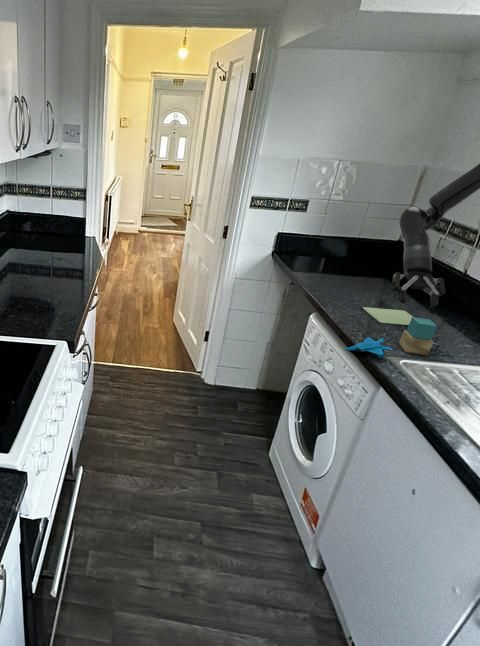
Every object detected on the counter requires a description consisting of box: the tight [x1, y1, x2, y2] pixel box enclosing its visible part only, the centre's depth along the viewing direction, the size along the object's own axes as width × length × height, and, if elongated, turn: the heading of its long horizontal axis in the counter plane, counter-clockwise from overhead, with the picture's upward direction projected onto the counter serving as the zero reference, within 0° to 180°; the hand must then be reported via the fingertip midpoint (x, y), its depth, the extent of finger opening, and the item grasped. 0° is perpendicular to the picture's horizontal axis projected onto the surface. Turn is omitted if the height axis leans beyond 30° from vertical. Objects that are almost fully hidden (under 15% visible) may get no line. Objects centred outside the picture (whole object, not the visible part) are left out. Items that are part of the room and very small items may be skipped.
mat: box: [361, 306, 414, 326], centre depth 156 cm, size 16×14×1 cm
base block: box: [398, 329, 434, 356], centre depth 132 cm, size 6×6×5 cm
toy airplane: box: [343, 337, 394, 360], centre depth 127 cm, size 12×10×4 cm
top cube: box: [406, 316, 438, 340], centre depth 130 cm, size 5×5×5 cm
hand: (418, 304), depth 134 cm, fingers open, 8 cm apart
